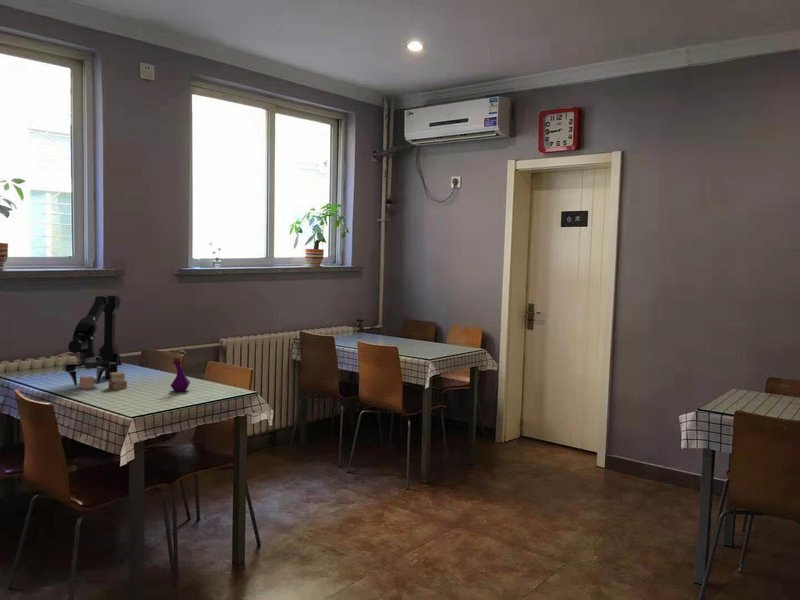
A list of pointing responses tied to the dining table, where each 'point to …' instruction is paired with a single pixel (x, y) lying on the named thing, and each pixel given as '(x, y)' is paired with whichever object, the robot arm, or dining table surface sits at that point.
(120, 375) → the tower mid
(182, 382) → the purple faceted vase
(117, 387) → the tower base
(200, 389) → the dining table surface
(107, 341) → the robot arm
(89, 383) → the cube
